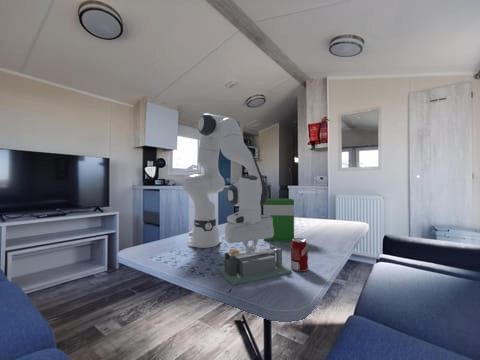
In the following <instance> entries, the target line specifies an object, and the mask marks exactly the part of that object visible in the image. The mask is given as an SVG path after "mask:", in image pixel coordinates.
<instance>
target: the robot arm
mask: <svg viewBox="0 0 480 360" xmlns="http://www.w3.org/2000/svg"><path fill="white" fill-rule="evenodd" d="M197 129H198V132H199V134H201V138H200V141H199V148H198V154H197V155H198V156H197V163H198V165H199V166H200V167H202V169H203V174H202V173H200V174H197V173H196V174H191V175H187V176H185V178H184V180H183V182H182V184H183V185H182V187H183V189H184V191H185V193H186V194H187V195H189V197H190V198H191V199H192V201H193V204H194V216H195V217H194V221H193V228H192V229H191V231H190V232H188V235H189V236H188V238H187V244H188V246H187V247H190V248H199V249H201V248H202V249H203V248H205V249H207V248H214V247H216V246H218V245H219V244H221V243H222V239H220V232H219V231H220V230H219V228H218V227H217V218H216V205H215V203H214V202H213V201H211V200H210V199H209V194H211V195H212V194H217V193H221V192H223V190H224V189H225V186H226V181H225V179H224V177H223V176H222V175H221V173H220V170H219V159H220V152H221V154H222V156H223V157H225V158H226V159H227V160H230V161H231V162H232V161H233V162H235V163H237V164H240V165H241V166H243V167H244V168H245V169H246V171H247V173H248V174H244V175H240V176H239V179H238V181H237V182H235V183H233V184H231V185H229V187H228V188H227V190H226V199H227V201H228V203H229V204H230V206H231V205H232V206H234V207H238V211H237V212H235V213H232V214H230V215H227V217H226V220H227V224H225V228H224V229H225V231H224V238H225V241H226V242H227V243H228V244H235V243H242V244H243V245H244V247H245V251H246V252H251V251H252V252H253V251H255V250H256V247H257V245H258V243H259V240H264V239H266V238H272V237H273V236H274V229H273V218H272V217H271V216H270V215H263V214H262V207H263V205H264V204H265V203H266V201H267V200H268V199H270V192H269V189H268V187H267V184H266V182H265V181H264V178H263V176H262V173H261V171H260V168H259V165H258V162H257V159H256V157H255V155H254V153H253V152H252V151H251V150H249V148H248V147H247V145H246V144H245V142H244V138H243V137H244V136H243V134H242V130H241V124H240V121H238V120H237V119H236V118H234V117H232V118H231V117H228V116H225V115H219V114H211V113H203V114H201V115H200V116H199V119H198V122H197ZM249 241H250V242H251V241H252V242H253V243H252V245H250V246H249V245H248V244H249Z"/></svg>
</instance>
